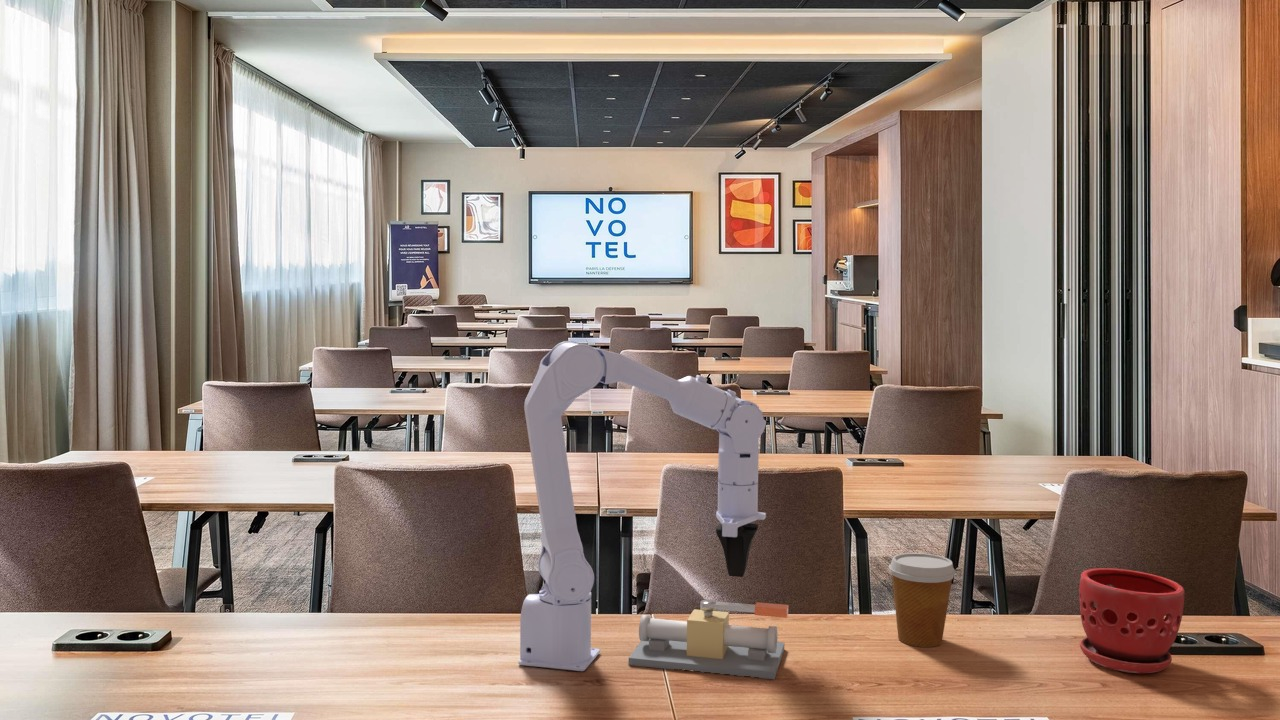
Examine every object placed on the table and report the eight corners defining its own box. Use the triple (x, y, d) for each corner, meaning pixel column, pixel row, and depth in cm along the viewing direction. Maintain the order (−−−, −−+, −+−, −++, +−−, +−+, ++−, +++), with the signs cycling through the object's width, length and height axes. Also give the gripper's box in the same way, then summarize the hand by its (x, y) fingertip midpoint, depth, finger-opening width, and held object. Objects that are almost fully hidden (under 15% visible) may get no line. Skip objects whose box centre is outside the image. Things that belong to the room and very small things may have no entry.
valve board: (628, 664, 141) (628, 616, 141) (649, 636, 153) (649, 591, 152) (774, 679, 136) (775, 629, 136) (784, 649, 148) (785, 602, 147)
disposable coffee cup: (907, 653, 146) (910, 570, 146) (875, 632, 156) (877, 554, 155) (966, 648, 149) (969, 566, 148) (931, 627, 158) (933, 550, 157)
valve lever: (699, 610, 143) (699, 602, 143) (701, 606, 145) (702, 597, 145) (786, 618, 140) (786, 609, 140) (788, 613, 142) (788, 604, 142)
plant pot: (1131, 686, 135) (1134, 596, 134) (1056, 653, 147) (1059, 571, 146) (1203, 673, 140) (1207, 586, 139) (1125, 642, 152) (1128, 562, 151)
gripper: (759, 493, 139) (757, 591, 140) (772, 474, 153) (770, 564, 154) (707, 490, 141) (706, 587, 142) (725, 472, 155) (723, 561, 156)
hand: (736, 575), depth 148 cm, fingers closed
